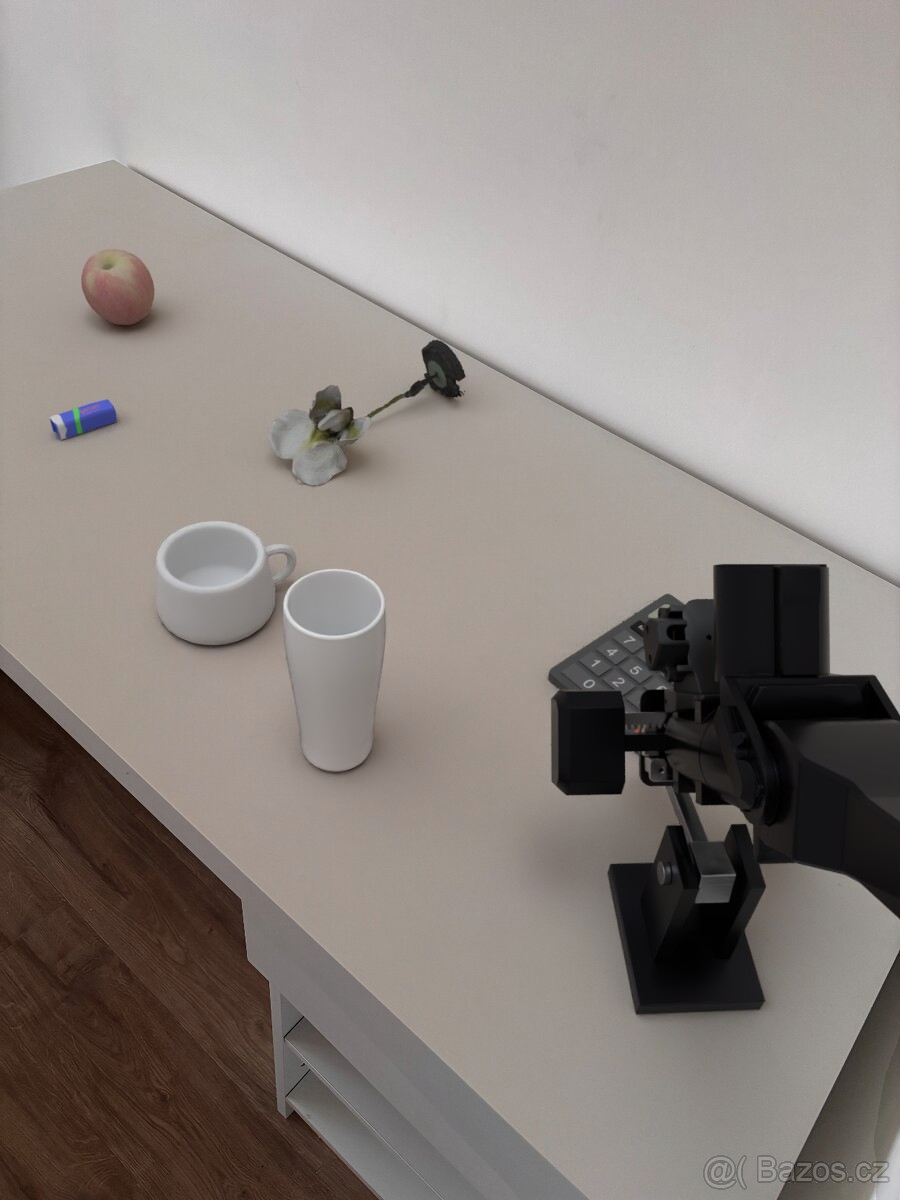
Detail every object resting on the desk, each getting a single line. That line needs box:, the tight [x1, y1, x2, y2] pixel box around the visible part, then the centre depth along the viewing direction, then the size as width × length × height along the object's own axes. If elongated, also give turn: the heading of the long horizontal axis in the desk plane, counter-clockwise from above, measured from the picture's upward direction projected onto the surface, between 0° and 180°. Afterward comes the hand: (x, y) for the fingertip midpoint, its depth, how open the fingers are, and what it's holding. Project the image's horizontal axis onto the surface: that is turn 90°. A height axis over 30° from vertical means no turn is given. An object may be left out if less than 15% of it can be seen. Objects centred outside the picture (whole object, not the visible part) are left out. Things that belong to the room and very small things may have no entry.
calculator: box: [547, 593, 686, 755], centre depth 86 cm, size 12×1×15 cm
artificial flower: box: [267, 339, 467, 487], centre depth 106 cm, size 9×22×10 cm, turn 131°
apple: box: [80, 248, 155, 326], centre depth 118 cm, size 8×8×8 cm
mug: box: [155, 520, 297, 646], centre depth 87 cm, size 12×10×6 cm
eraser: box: [49, 398, 117, 441], centre depth 105 cm, size 2×6×2 cm, turn 126°
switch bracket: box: [607, 823, 767, 1015], centre depth 66 cm, size 10×8×10 cm
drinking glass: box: [282, 568, 387, 772], centre depth 74 cm, size 7×7×15 cm
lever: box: [638, 751, 737, 904], centre depth 69 cm, size 15×3×3 cm, turn 4°
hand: (664, 725), depth 73 cm, fingers closed, pressing on lever
